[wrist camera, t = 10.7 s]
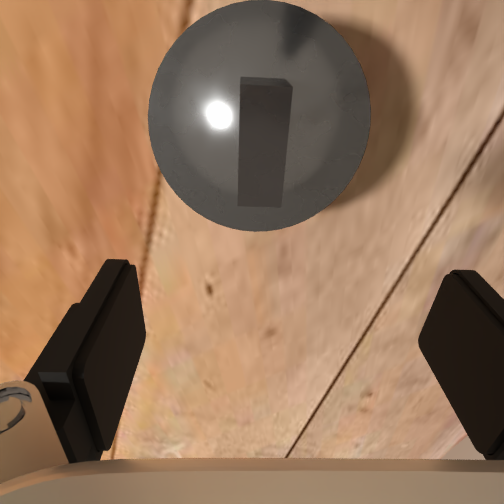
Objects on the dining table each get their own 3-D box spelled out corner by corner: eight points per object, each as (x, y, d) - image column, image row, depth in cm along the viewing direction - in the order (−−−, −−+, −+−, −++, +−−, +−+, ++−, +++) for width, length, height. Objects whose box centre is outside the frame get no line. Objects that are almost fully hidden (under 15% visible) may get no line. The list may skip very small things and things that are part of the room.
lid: (392, 7, 24) (427, 1, 19) (345, 229, 33) (361, 261, 28) (136, -7, 23) (110, -16, 18) (161, 224, 32) (148, 256, 27)
